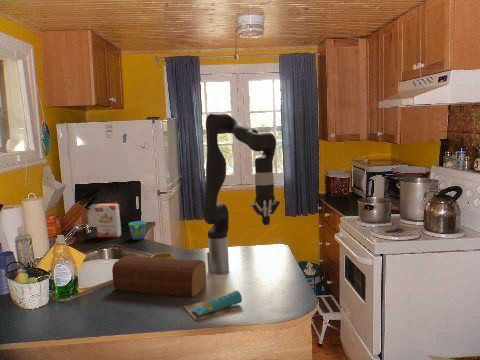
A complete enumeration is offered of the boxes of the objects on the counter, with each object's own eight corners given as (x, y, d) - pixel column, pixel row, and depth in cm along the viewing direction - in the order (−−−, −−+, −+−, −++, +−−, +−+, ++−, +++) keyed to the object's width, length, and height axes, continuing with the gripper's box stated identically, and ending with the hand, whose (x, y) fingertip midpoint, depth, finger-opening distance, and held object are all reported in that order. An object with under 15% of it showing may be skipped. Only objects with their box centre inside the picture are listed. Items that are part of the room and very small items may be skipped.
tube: (242, 291, 175) (197, 308, 166) (244, 304, 175) (199, 321, 166) (233, 288, 181) (189, 304, 173) (236, 300, 182) (192, 316, 173)
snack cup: (132, 235, 292) (131, 220, 290) (149, 234, 292) (147, 219, 290) (127, 242, 276) (125, 226, 275) (144, 241, 276) (143, 225, 275)
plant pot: (151, 273, 219) (149, 254, 217) (172, 270, 222) (171, 251, 220) (154, 280, 209) (152, 260, 208) (176, 277, 212) (174, 257, 211)
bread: (131, 279, 213) (129, 251, 211) (208, 285, 200) (206, 256, 198) (112, 291, 199) (109, 262, 197) (193, 299, 186) (191, 268, 184)
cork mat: (195, 320, 166) (195, 319, 166) (183, 307, 178) (183, 306, 178) (234, 310, 173) (234, 309, 173) (221, 299, 185) (221, 297, 185)
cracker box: (97, 237, 291) (94, 205, 288) (101, 235, 297) (98, 203, 294) (117, 237, 288) (114, 205, 285) (121, 235, 294) (119, 203, 291)
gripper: (274, 180, 189) (275, 220, 191) (245, 183, 183) (247, 225, 186) (283, 182, 182) (284, 224, 184) (254, 185, 176) (255, 229, 179)
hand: (266, 224), depth 185 cm, fingers closed
